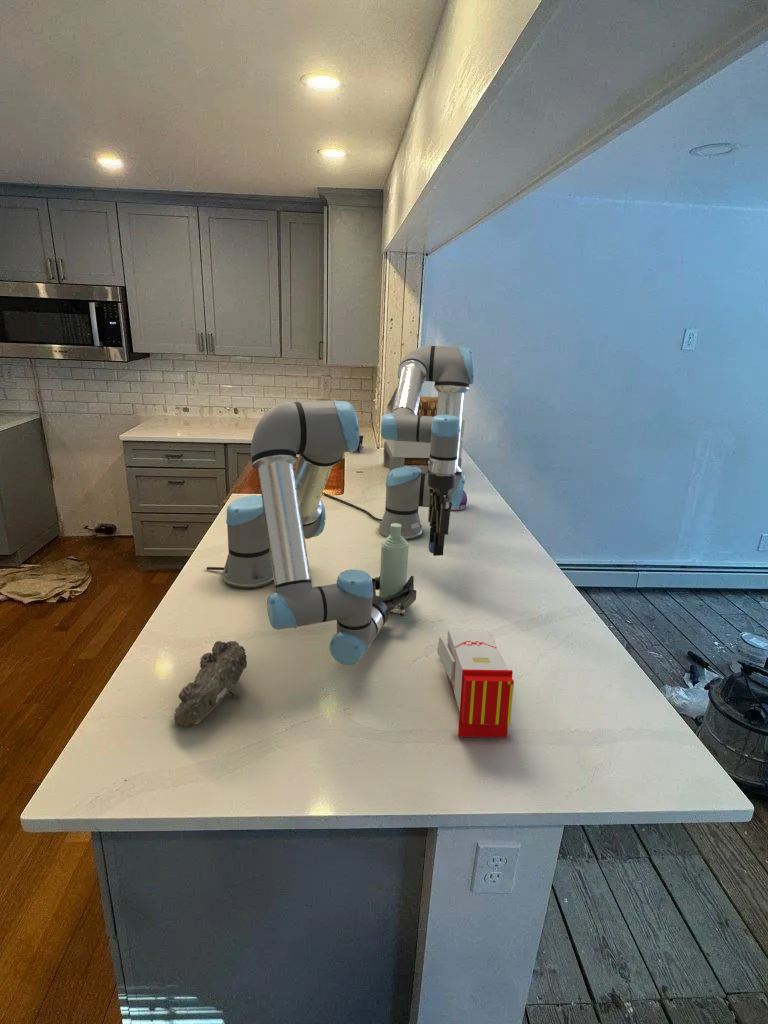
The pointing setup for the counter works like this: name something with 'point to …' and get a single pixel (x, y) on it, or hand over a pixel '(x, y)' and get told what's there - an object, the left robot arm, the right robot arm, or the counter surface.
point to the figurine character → (360, 444)
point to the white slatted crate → (413, 451)
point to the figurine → (462, 501)
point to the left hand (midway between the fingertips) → (398, 577)
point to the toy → (478, 682)
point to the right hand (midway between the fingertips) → (435, 551)
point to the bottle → (393, 562)
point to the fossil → (211, 682)
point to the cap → (431, 547)
